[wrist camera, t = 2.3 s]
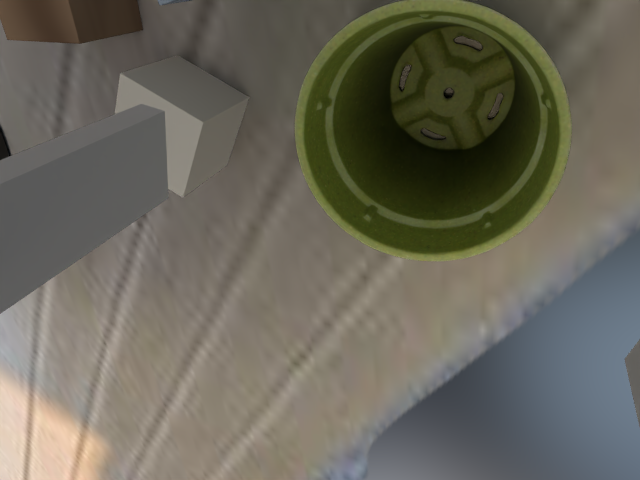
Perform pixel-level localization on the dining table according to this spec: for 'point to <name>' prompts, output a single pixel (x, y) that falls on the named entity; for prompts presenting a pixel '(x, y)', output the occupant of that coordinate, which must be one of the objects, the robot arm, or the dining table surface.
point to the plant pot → (432, 129)
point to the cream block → (187, 117)
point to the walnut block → (68, 19)
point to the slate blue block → (170, 1)
